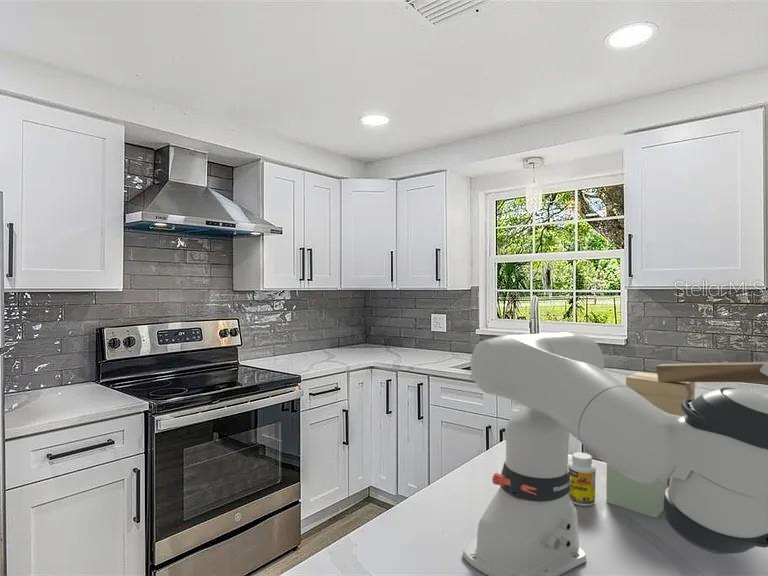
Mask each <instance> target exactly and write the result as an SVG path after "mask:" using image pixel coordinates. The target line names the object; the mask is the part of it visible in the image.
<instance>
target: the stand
mask: <svg viewBox="0 0 768 576" xmlns="http://www.w3.org/2000/svg"><path fill="white" fill-rule="evenodd" d="M625 385H626V386H628V387H629V388H631V389H632V390H634V391H635V392H637V393H638V394H640V395H641V396H642V397H644V398H645V399H646V400H648V401H649V402H650V403H652V404H653V405H654V406H656V407H658V408H659V409H661V410H663V411H665V412H667V413H670V414H673V415H679V416H685V415H686V414H685V413H684V412H683V410H682V409H681V403H682V402H683V401H684V400H686V399H696V398H695V397H696V396H695V395H696V393H695V390H696V382H658V375H657V373H649V372H642V371H641V372H640V371H637V372H635V373H632V374H630V375H627V376H625ZM670 478H671V477H670ZM670 478H669V479H668V480H667V487H669V482H670Z"/></svg>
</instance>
